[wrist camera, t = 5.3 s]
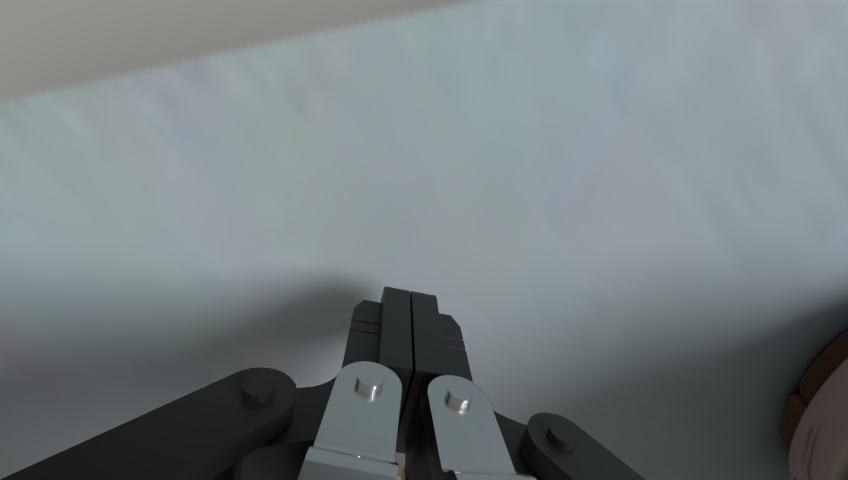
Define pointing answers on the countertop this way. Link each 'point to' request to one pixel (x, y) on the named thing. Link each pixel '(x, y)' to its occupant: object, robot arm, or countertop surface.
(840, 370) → the flowerpot
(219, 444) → the robot arm
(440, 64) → the countertop surface
